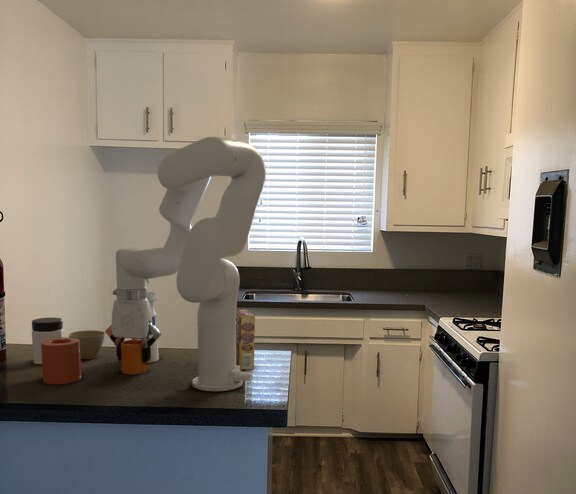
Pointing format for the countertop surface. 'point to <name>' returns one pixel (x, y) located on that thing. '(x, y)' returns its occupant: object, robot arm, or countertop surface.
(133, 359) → the orange cup
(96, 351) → the beige bowl
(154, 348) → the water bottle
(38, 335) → the jar
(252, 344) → the candy box
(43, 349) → the terracotta jar
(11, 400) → the countertop surface
